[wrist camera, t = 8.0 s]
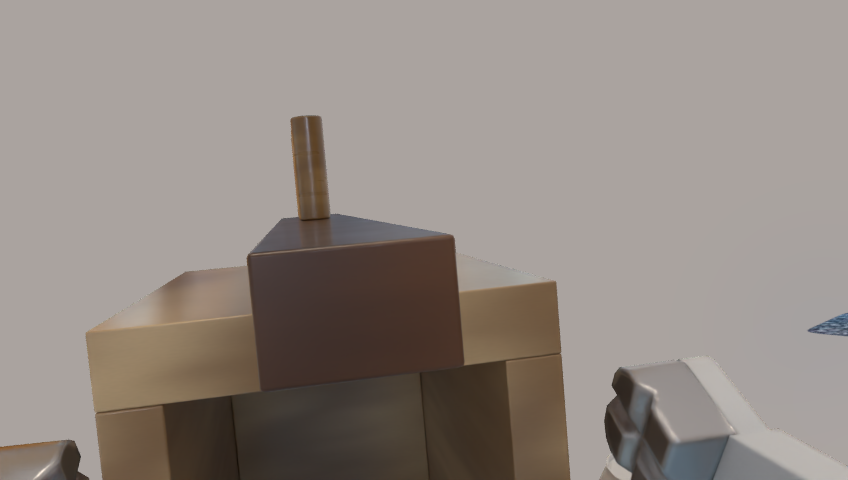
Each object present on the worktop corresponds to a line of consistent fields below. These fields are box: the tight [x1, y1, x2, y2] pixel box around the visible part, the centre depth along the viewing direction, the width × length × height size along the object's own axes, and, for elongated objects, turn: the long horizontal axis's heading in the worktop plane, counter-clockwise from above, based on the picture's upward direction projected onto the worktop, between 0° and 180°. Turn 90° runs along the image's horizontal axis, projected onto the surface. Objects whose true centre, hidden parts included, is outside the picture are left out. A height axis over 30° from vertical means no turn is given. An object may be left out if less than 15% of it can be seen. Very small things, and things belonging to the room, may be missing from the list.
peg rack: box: [247, 115, 465, 392], centre depth 24 cm, size 3×28×6 cm, turn 11°
